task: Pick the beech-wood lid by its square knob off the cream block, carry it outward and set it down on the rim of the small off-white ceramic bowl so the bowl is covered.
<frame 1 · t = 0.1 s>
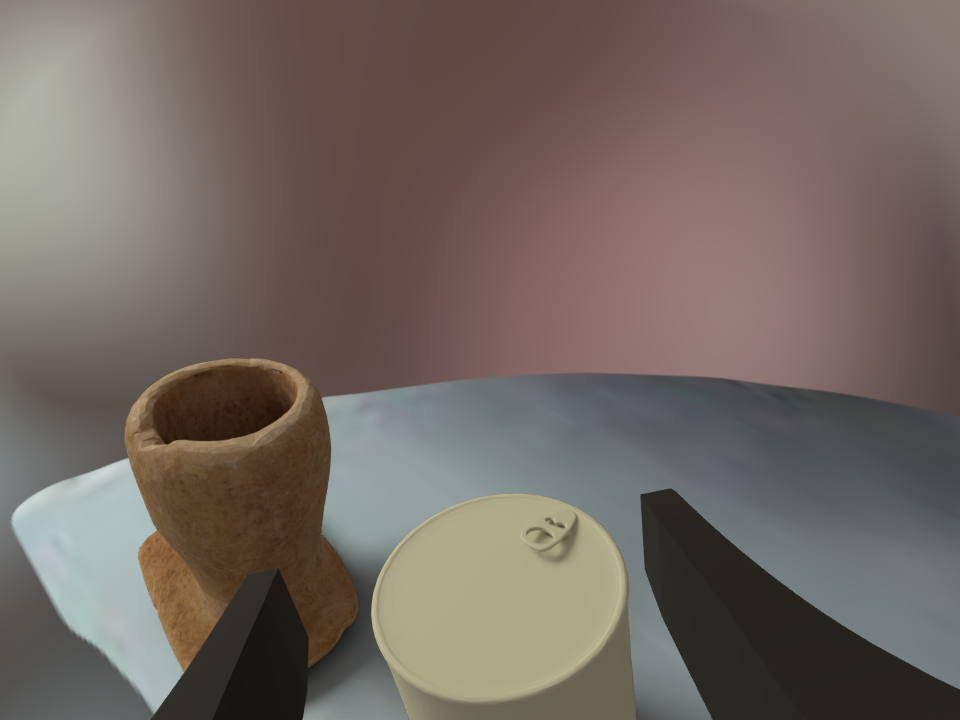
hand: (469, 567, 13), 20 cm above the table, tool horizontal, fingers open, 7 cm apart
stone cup: (274, 594, 41), on the table
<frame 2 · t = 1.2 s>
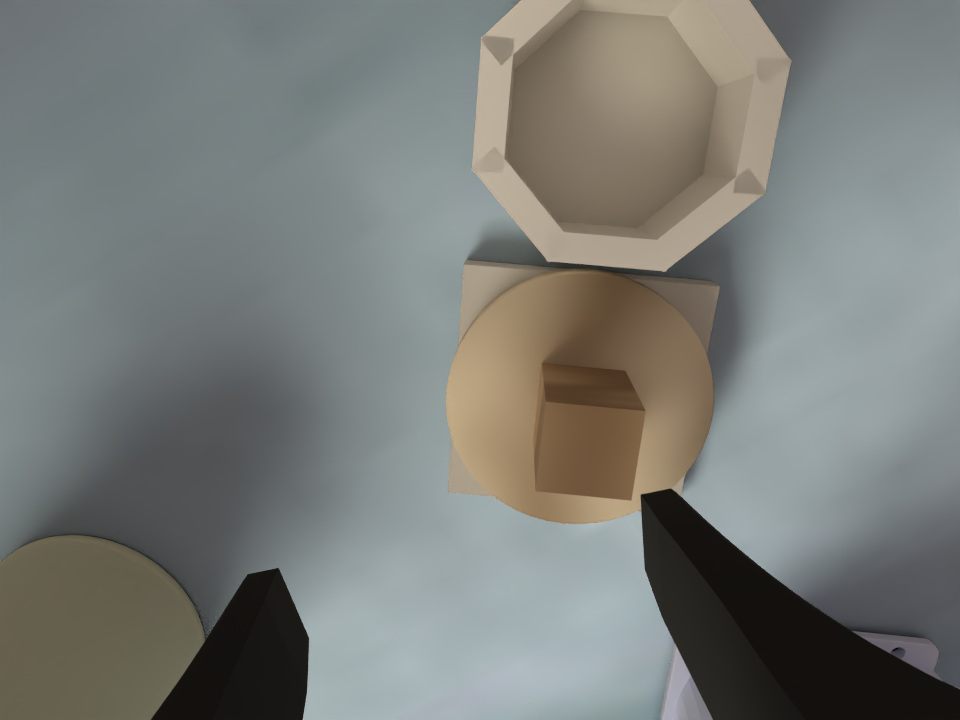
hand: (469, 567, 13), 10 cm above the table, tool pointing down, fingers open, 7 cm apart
lid: (575, 395, 22), point 1 cm above the table, touching cream block
can: (99, 629, 27), on the table
cream block: (573, 385, 23), on the table
bowl: (606, 125, 20), on the table
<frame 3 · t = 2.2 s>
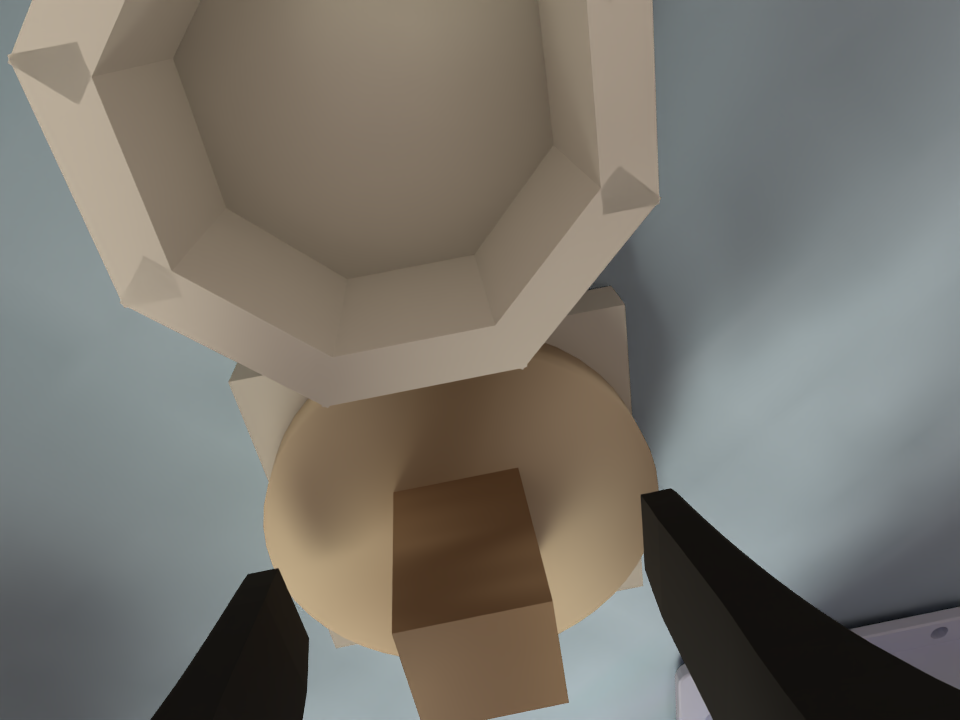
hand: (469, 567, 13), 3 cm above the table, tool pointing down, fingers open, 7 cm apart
lid: (462, 497, 15), point 1 cm above the table, touching cream block
cream block: (459, 470, 16), on the table
bowl: (375, 98, 12), on the table
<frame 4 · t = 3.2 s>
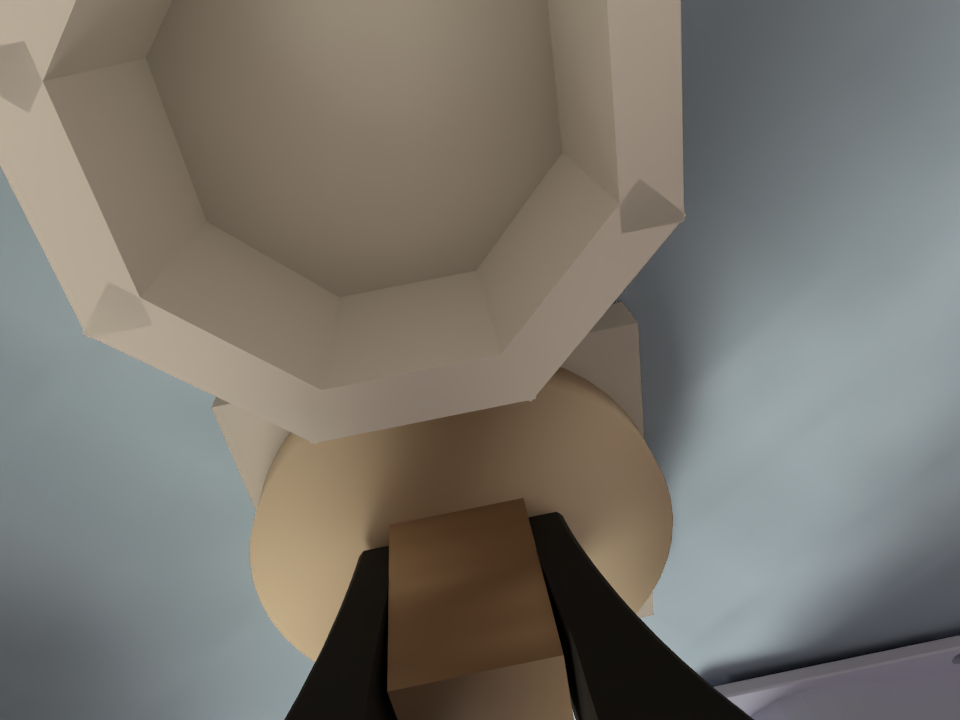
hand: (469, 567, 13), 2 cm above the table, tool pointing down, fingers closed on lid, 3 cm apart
lid: (463, 525, 14), point 1 cm above the table, touching gripper, cream block
cream block: (459, 495, 15), on the table
bowl: (368, 101, 11), on the table
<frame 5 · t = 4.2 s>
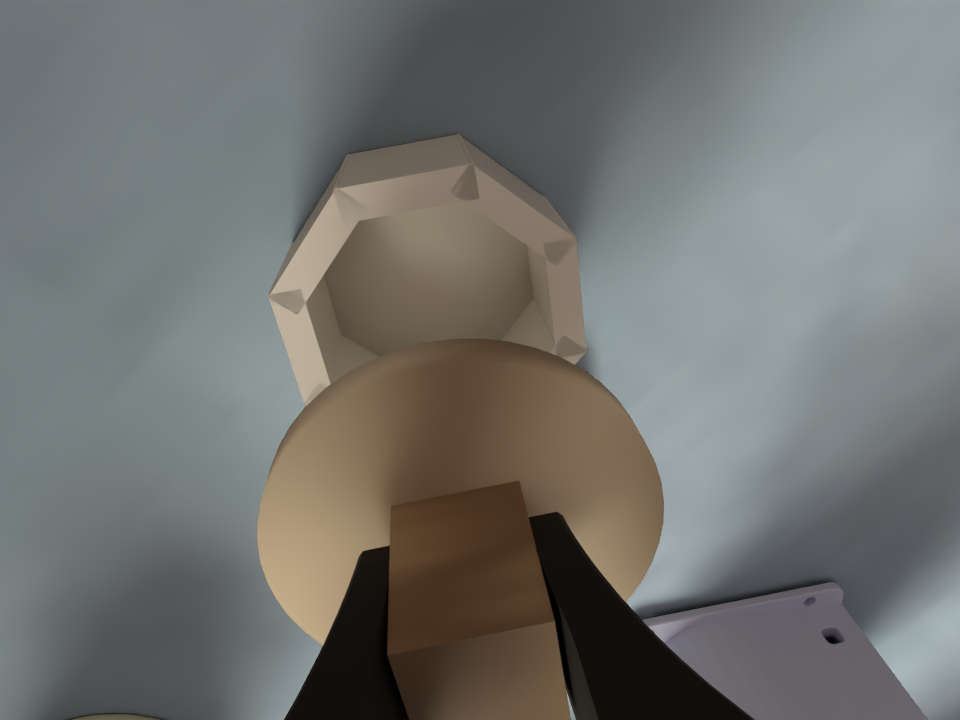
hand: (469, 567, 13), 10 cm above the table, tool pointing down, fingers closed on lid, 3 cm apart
lid: (462, 510, 15), point 8 cm above the table, touching gripper
bowl: (429, 270, 20), on the table
when the fingers open (6 cm above the table, at t = 5.2 s): lid stays where it is, resting on bowl.
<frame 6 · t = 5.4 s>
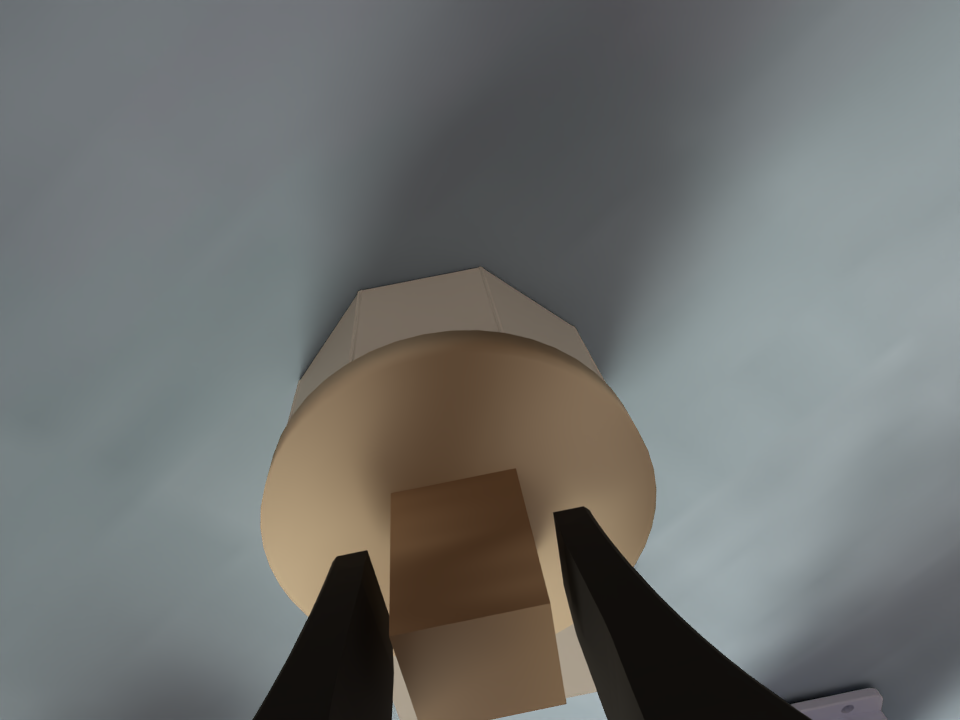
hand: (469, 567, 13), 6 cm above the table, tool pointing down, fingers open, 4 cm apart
lid: (460, 497, 15), point 4 cm above the table, touching bowl
cream block: (494, 609, 23), on the table
bowl: (448, 402, 19), on the table
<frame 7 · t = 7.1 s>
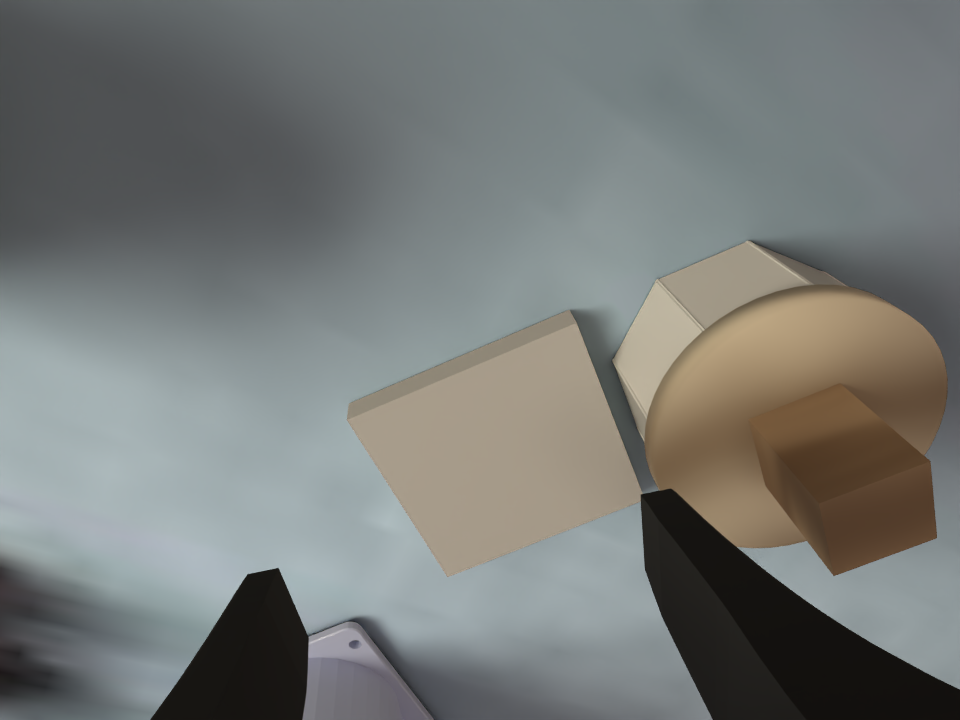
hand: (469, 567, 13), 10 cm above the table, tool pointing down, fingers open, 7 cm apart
lid: (783, 417, 20), point 4 cm above the table, touching bowl
cream block: (501, 445, 24), on the table
bowl: (726, 353, 23), on the table
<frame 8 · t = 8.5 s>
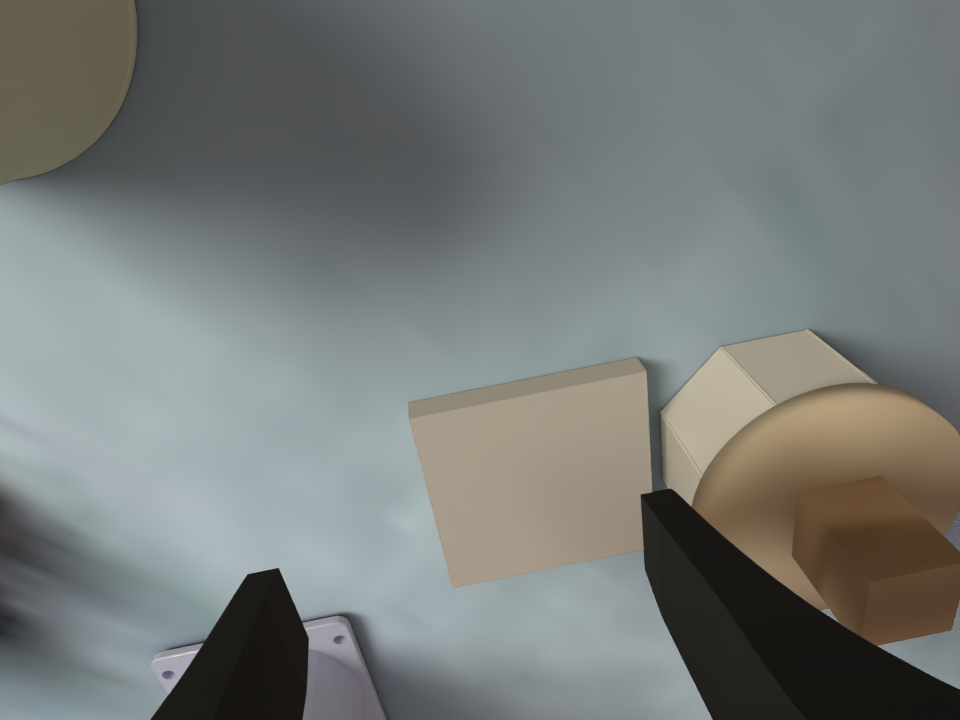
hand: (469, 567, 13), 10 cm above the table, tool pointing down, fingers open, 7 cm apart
lid: (817, 495, 21), point 4 cm above the table, touching bowl
cream block: (537, 471, 25), on the table
bowl: (759, 426, 25), on the table
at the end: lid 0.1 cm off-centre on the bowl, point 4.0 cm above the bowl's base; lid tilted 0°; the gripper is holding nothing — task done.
